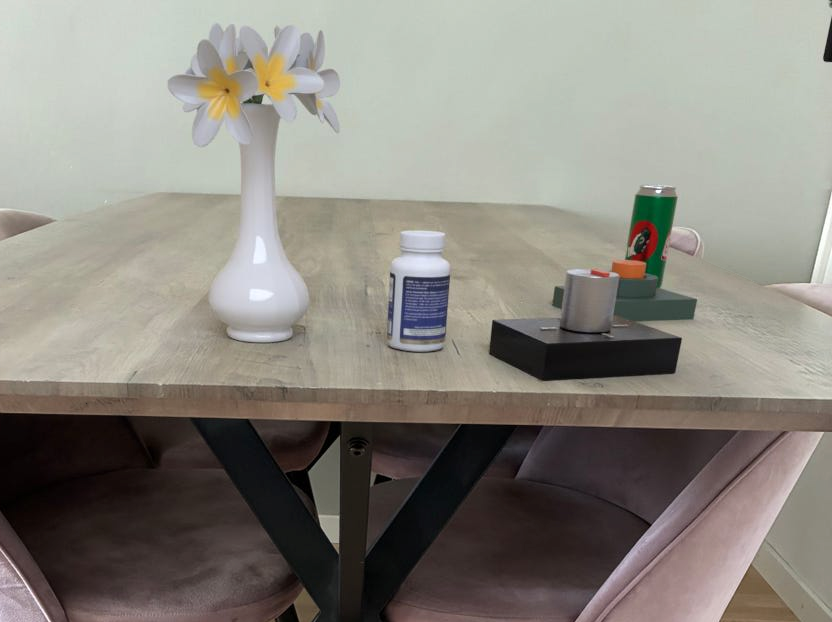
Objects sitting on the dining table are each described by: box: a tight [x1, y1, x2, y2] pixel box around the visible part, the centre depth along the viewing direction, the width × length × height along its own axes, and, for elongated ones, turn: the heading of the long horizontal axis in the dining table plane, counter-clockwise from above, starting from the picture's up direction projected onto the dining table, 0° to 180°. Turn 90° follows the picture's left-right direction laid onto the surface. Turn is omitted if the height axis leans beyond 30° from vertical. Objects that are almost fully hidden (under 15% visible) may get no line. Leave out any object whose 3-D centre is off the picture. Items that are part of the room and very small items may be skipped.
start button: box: [610, 259, 646, 278], centre depth 105 cm, size 4×4×2 cm
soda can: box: [624, 184, 678, 289], centre depth 119 cm, size 5×5×12 cm
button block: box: [551, 270, 698, 322], centre depth 106 cm, size 12×10×4 cm
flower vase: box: [167, 22, 341, 344], centre depth 83 cm, size 13×18×25 cm
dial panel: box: [488, 316, 683, 382], centre depth 83 cm, size 13×10×3 cm
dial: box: [560, 268, 619, 333], centre depth 82 cm, size 4×4×5 cm
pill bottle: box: [386, 229, 451, 353], centre depth 86 cm, size 5×5×10 cm
